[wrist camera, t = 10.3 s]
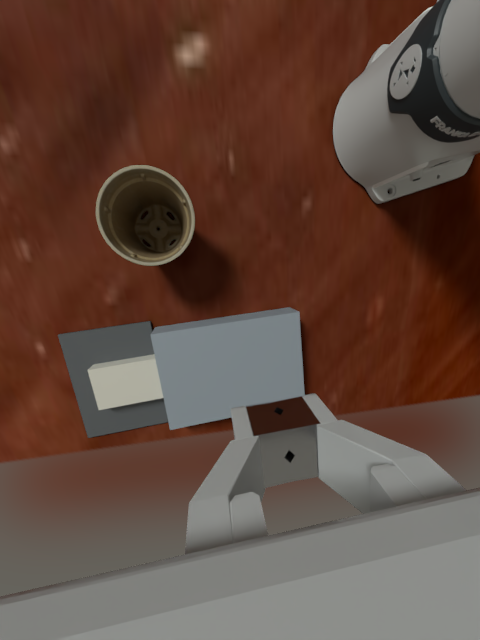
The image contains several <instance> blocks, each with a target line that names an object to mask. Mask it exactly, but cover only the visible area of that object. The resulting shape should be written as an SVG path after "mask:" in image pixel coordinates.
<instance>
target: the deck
mask: <svg viewBox="0 0 480 640" xmlns="http://www.w3.org/2000/svg"><path fill="white" fill-rule="evenodd" d="M150 335H151V340H152V345H153V350H154V355H155V359H156V364H157V369H158V374H159V379H160V384H161V388H162V393H163V398H164V403H165V408H166V413H167V417H168V422H169V427H170V430H172V429H177V428H182V427H187V426H192V425H197V424H202V423H207V422H212V421H217V420H221V419H226V418H231V417H232V416H231V408H234V407H240V406H246V405H253V404H259V403H266V402H272V401H274V402H275V401H280V400H285V399H290V398H295V397H300V396H304V395H305V392H304V376H303V361H302V345H301V330H300V314H299V311H296V310H294V309H292V308H290V307H288V308H281V309H274V310H268V311H261V312H254V313H248V314H241V315H234V316H227V317H221V318H214V319H207V320H201V321H194V322H187V323H180V324H174V325H167V326H160V327H155V329H154V330H153V332H152V333H151V334H150Z"/></svg>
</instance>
